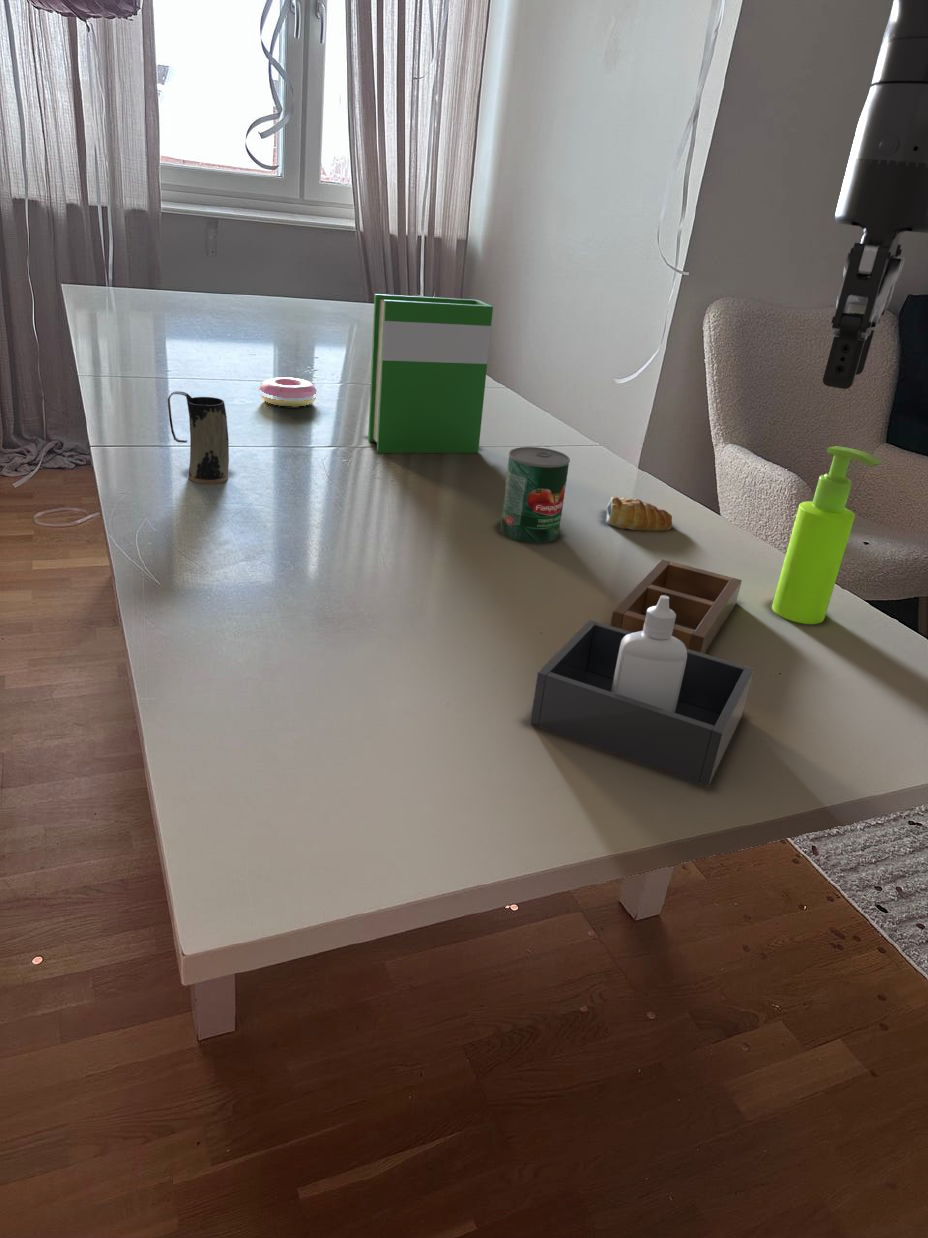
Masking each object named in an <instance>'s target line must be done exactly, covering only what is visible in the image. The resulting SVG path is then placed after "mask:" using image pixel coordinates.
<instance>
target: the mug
mask: <svg viewBox="0 0 928 1238" xmlns="http://www.w3.org/2000/svg"><path fill="white" fill-rule="evenodd" d="M173 395H180V396H181V395H182V396H184V397H185V398H186V405H187V410H188V411H187V412H188V418H189V419H188V420H189V421H188V422H189V436H190V437H189V440H190V441H189V442H190V447H189V467H188V479H189V481H191V482H194V483H198V484H206V485H211V484H221V483H224V482H226V481H228V480H229V466H230V465H229V464H230V449H229V448H230V443H229V430H228V429H229V428H228V427H229V426H228V417H227V411H226V405H225V400H223V399H222V398H218V397H213V396H212V397H211V396H194V397H192V396H191V395H190V394H189V393H187V392H185V391H181V390H180V391H179V390H178V391H175V390H174V391H173V392H171V393H170V395H169V396H168V398H167V409H168V419H169V425H170V432H171V434H172V437H173V438H172V439H173V440H174V441H175V442H177V443H183V444H184V443H185V444H187V442H188V440H186V439H179V438H177V436H176V433H175V430H174V424H173V417H172V407H171V397H172V396H173Z"/></svg>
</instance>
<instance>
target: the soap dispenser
mask: <svg viewBox="0 0 928 1238" xmlns="http://www.w3.org/2000/svg"><path fill="white" fill-rule="evenodd" d="M826 454H829V455H833V457H832V462H831V465H830V468H829V471H828V472H826V473H825V474H821V475H819V478H818V481H817V484H816V488H815V492H814V495H813V498H812V500H810V501H809V500H808V501H807V500H806V501H803V502H801V503H799V504H798V508H797V512H796V516H795V520H794V523H793V527H792V531H791V535H790V538H789V541H788V545H787V549H786V553H785V556H784V560H783V564H782V568H781V572H780V575H779V579H778V582H777V586H776V590H775V594H774V597H773V598H774V599H773V601H772V605H771V609H772V611H773V612H774V614H776V615H778V616H779V617H781V618H783V619H785V620H788V621H791V622H794V623H799V624H805V625H818V624H820V623H823V622H824V621H825V618H826V615H827V611H828V608H829V604H830V601H831V598H832V594H833V591H834V588H835V585H836V582H837V578H838V575H839V571H840V569H841V565H842V561H843V559H844V554H845V552H846V548H847V545H848V542H849V538H850V535H851V532H852V528H853V525H854V522H855V518H856V514H855V513H854V512H853V511H852V510H851V509H848V508H846V505H847V502H848V500H849V495H850V492H851V489H852V485H853V481H852V480H851V479H849V477H848V476H847V472H848V470H849V466H850V462H851V459H852V460H854V461H858V462H860V463H863V464H864V465H867V466H868V467H875V466H878V465H881V464H883V463H884V462H883V461H882V460H881V459H879V457H876V456H874V455H873V454H870V453H868V452H866V451H863V450H859V449H855V448H851V447H845V446H841V445H840V446H839V445H835V446H830V447H827V451H826Z"/></svg>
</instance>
